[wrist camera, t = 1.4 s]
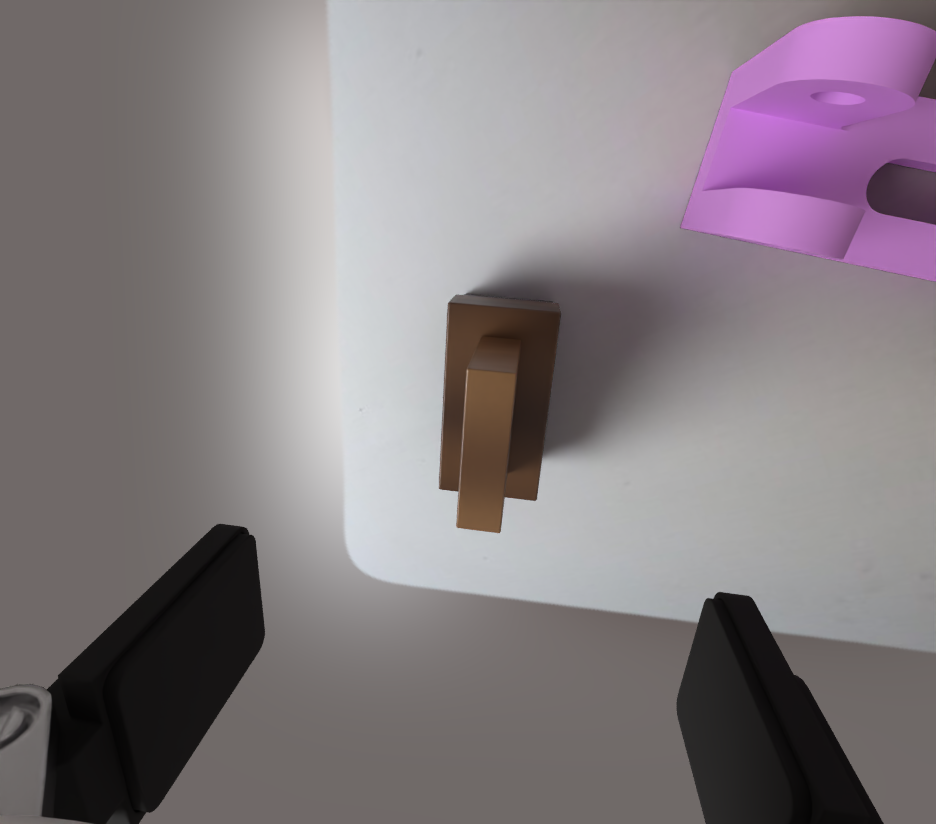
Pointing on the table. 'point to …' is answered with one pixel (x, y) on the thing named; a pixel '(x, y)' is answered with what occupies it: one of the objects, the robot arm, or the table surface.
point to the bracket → (823, 144)
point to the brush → (495, 402)
